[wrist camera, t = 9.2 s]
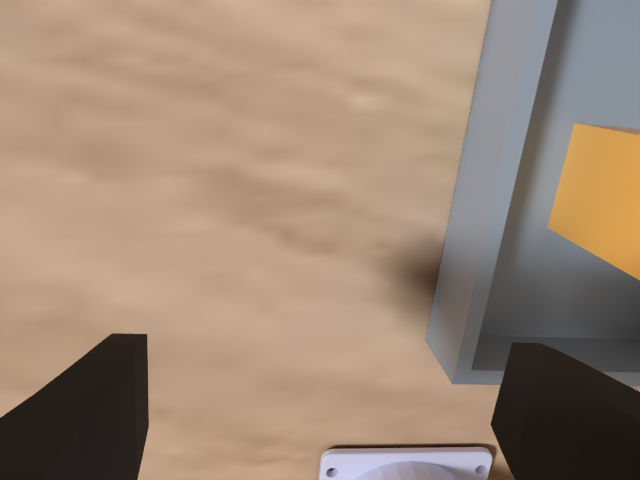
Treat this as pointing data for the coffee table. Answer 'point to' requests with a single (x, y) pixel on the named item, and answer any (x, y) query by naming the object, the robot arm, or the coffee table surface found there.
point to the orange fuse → (601, 194)
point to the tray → (537, 195)
